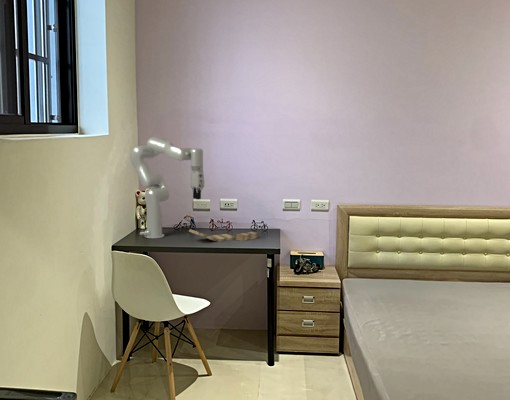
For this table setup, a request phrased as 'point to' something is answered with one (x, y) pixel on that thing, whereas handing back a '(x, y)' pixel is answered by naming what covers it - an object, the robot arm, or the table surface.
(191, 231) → the plank
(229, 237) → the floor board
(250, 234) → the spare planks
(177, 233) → the table surface
